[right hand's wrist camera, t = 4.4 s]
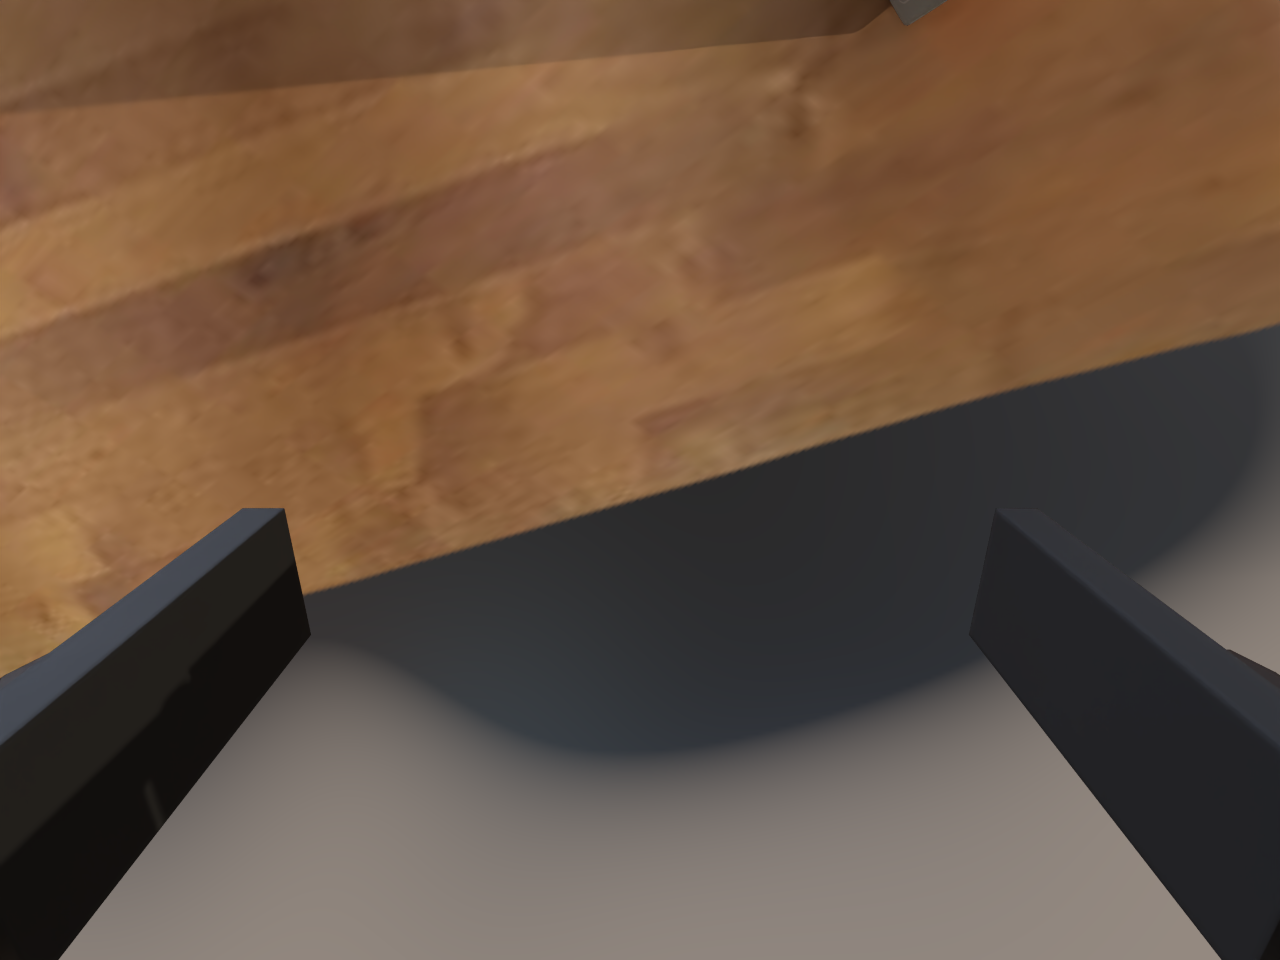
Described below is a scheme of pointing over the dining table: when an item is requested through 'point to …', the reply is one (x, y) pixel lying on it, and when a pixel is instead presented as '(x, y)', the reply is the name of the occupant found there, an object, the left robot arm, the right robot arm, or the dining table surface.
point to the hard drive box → (914, 9)
